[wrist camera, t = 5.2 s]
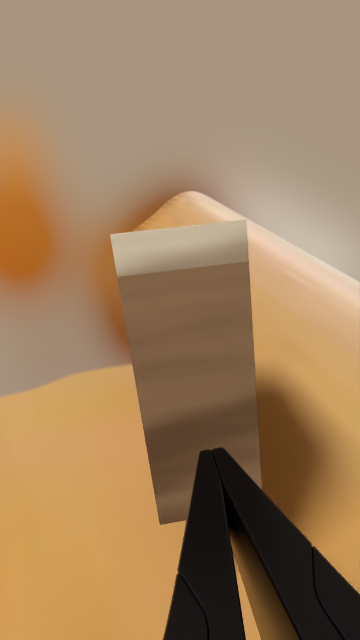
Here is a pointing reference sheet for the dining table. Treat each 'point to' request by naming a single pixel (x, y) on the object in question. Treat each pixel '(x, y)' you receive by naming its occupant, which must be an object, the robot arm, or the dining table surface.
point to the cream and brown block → (190, 350)
